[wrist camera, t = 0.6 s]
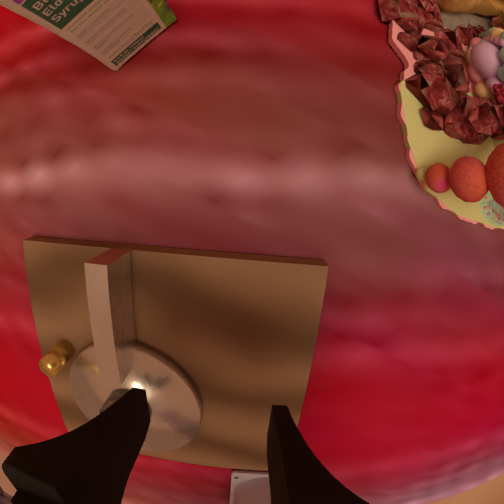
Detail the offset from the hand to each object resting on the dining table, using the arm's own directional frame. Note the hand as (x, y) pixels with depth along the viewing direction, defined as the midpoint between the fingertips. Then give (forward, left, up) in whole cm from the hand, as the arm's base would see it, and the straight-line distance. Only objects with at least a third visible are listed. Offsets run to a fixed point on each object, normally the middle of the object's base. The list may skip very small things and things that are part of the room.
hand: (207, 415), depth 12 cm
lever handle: (-4, +7, -8) cm, 11 cm away
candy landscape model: (+21, -21, -10) cm, 31 cm away
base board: (-5, +5, -9) cm, 12 cm away
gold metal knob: (-4, +13, -8) cm, 15 cm away
